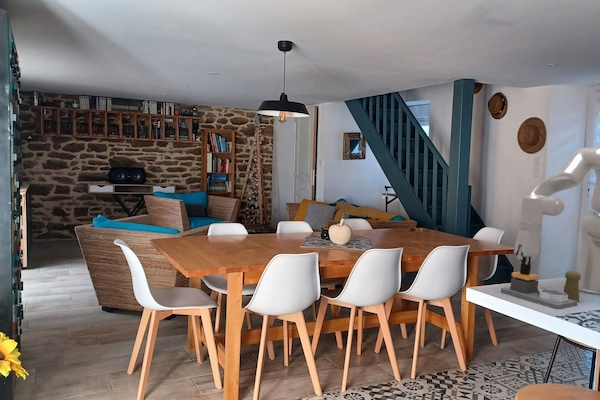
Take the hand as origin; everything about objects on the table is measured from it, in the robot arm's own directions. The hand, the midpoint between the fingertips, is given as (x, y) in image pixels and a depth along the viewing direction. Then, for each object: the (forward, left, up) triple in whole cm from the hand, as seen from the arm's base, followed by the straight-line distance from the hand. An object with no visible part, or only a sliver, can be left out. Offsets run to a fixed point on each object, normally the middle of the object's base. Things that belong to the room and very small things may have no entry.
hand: (524, 273), depth 194 cm
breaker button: (0, 0, -4) cm, 4 cm away
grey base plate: (0, +6, -8) cm, 10 cm away
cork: (-12, +12, -9) cm, 19 cm away
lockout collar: (0, +12, -7) cm, 13 cm away
